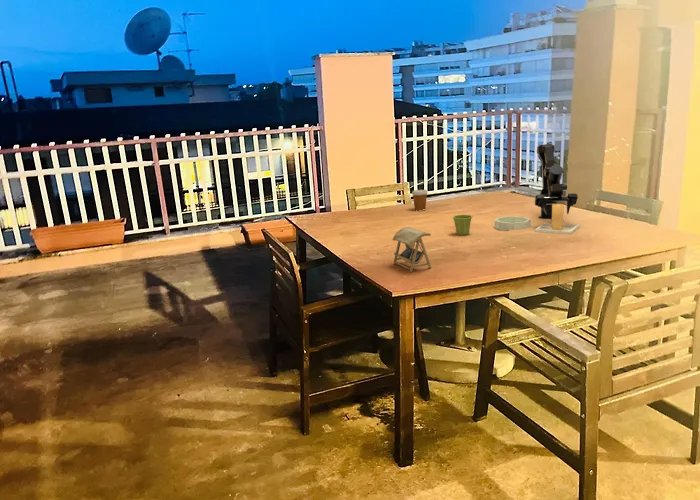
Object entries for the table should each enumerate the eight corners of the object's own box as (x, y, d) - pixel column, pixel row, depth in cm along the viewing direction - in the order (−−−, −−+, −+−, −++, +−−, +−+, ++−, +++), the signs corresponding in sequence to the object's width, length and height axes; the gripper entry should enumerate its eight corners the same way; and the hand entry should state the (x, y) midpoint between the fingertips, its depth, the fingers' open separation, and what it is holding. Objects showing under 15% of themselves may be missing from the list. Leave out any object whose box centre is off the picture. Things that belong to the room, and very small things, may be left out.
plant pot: (450, 235, 260) (450, 218, 258) (456, 231, 268) (455, 214, 266) (469, 236, 256) (469, 218, 254) (474, 232, 264) (474, 214, 262)
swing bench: (392, 264, 219) (390, 228, 215) (412, 260, 223) (411, 225, 219) (410, 272, 206) (409, 235, 202) (432, 268, 210) (431, 231, 206)
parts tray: (545, 226, 266) (545, 222, 265) (579, 228, 256) (579, 224, 256) (534, 233, 253) (534, 229, 253) (570, 236, 244) (570, 231, 243)
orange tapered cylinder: (553, 228, 258) (554, 203, 255) (564, 228, 255) (565, 203, 252) (550, 230, 254) (550, 205, 251) (561, 230, 251) (562, 205, 248)
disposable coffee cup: (429, 211, 326) (428, 191, 323) (413, 212, 326) (412, 192, 323) (427, 208, 335) (426, 189, 332) (411, 209, 335) (411, 190, 332)
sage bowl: (502, 223, 279) (502, 215, 278) (533, 225, 270) (533, 217, 269) (490, 229, 267) (490, 221, 266) (522, 232, 258) (522, 223, 257)
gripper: (535, 177, 256) (538, 204, 248) (577, 176, 252) (581, 203, 244) (533, 192, 265) (536, 218, 258) (573, 190, 262) (577, 217, 254)
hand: (557, 214), depth 253 cm, fingers open, 9 cm apart
